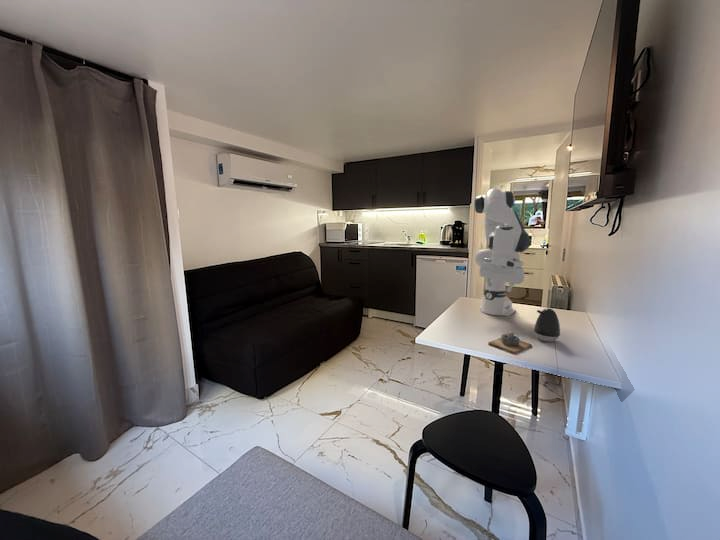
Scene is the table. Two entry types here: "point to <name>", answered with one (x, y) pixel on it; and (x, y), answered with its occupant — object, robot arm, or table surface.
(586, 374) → the table surface
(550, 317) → the black rounded piece
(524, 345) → the piston stand
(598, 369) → the table surface
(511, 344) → the ring
